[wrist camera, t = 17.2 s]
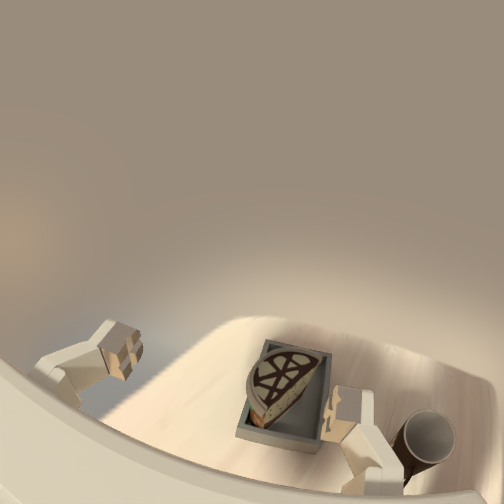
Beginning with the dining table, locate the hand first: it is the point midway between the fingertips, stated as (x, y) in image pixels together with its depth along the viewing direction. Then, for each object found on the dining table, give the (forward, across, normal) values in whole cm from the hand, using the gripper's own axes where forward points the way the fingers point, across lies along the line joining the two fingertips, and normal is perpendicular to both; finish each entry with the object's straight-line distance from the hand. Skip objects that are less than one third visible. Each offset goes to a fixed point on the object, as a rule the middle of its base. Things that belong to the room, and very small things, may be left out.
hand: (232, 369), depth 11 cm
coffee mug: (+10, -23, +32) cm, 41 cm away
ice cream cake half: (+18, -2, +31) cm, 36 cm away
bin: (+20, -5, +32) cm, 38 cm away
